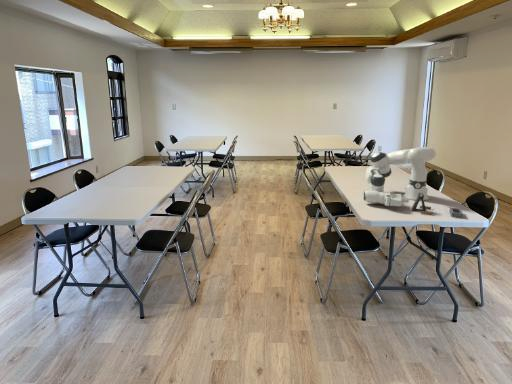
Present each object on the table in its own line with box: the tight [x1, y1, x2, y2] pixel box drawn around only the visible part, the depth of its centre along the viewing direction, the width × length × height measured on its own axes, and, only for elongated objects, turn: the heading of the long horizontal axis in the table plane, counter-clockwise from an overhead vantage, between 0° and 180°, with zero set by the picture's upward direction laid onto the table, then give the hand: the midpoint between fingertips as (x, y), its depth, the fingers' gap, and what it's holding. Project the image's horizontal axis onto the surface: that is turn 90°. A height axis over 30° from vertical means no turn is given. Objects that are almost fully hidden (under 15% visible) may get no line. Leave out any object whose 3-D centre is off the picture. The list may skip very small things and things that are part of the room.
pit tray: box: [448, 207, 464, 219], centre depth 253 cm, size 12×6×3 cm, turn 160°
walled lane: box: [419, 205, 433, 216], centre depth 259 cm, size 16×7×2 cm, turn 160°
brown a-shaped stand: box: [411, 193, 427, 213], centre depth 259 cm, size 9×6×12 cm, turn 73°
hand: (408, 200), depth 261 cm, fingers closed
